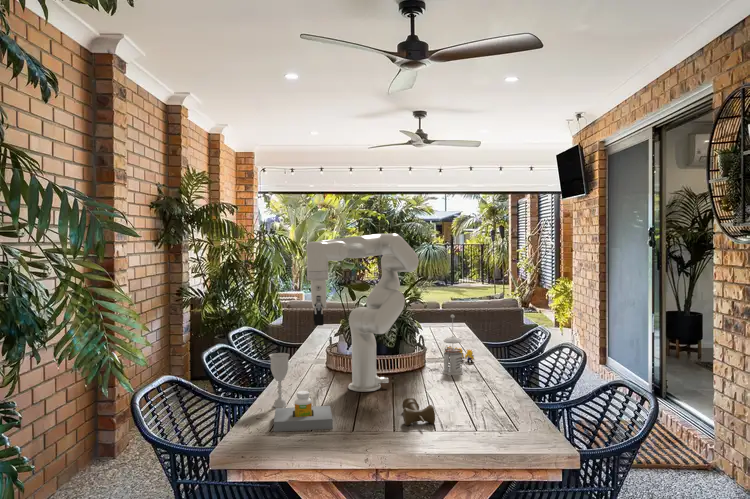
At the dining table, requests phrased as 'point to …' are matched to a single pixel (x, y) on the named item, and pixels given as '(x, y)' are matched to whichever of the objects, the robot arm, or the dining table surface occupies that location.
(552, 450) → the dining table surface
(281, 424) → the board
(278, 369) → the chalice
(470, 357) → the figurine set
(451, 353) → the french press
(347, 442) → the dining table surface
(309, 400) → the supplement bottle
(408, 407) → the kendama
